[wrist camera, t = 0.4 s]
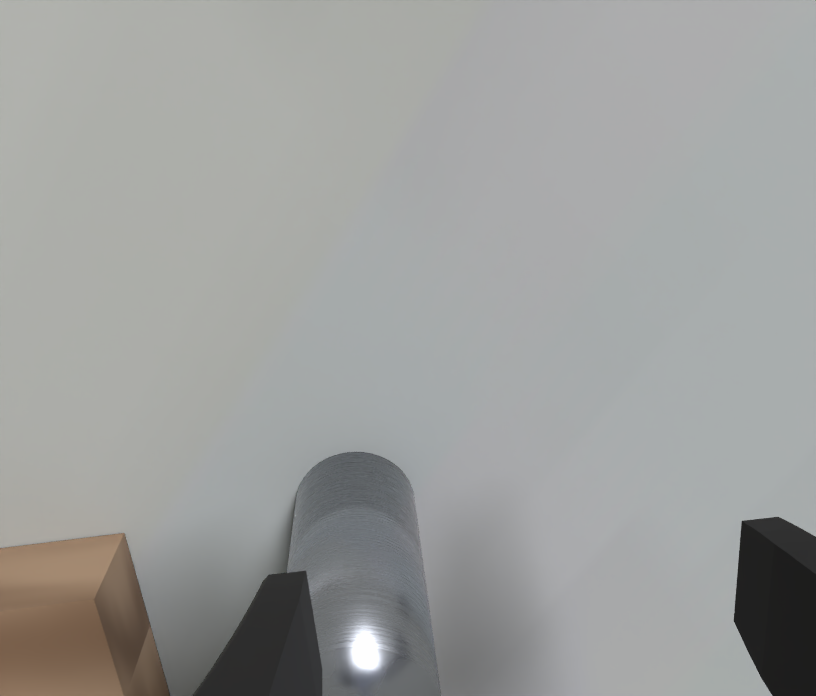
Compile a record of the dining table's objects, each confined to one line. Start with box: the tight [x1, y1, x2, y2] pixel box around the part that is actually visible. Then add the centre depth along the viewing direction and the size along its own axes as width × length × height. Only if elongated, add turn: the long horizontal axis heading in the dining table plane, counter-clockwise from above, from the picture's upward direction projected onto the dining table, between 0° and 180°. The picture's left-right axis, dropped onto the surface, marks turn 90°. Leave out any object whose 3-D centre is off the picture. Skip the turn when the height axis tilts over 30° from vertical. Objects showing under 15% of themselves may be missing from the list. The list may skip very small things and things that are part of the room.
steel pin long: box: [287, 452, 441, 696], centre depth 20 cm, size 4×4×8 cm
